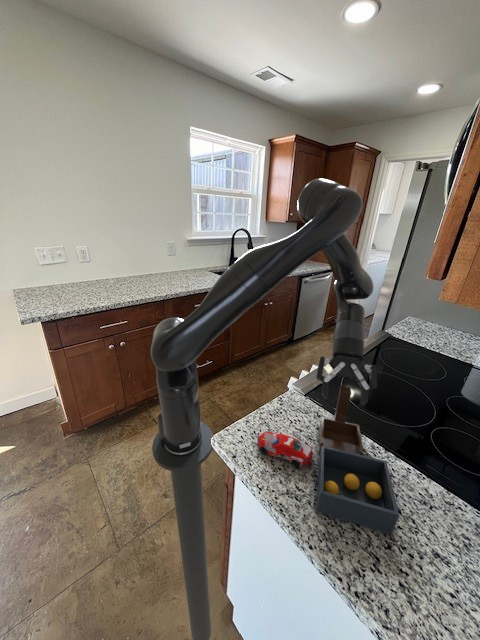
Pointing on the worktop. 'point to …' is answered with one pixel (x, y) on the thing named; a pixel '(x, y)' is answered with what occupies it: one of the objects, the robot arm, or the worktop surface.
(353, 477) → the ball
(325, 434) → the scoop
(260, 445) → the race car
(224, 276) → the robot arm
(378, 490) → the ball
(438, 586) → the worktop surface
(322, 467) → the bin
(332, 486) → the ball
